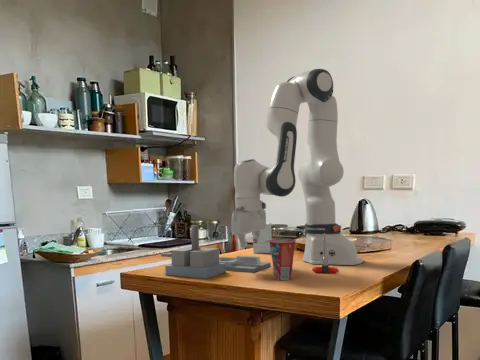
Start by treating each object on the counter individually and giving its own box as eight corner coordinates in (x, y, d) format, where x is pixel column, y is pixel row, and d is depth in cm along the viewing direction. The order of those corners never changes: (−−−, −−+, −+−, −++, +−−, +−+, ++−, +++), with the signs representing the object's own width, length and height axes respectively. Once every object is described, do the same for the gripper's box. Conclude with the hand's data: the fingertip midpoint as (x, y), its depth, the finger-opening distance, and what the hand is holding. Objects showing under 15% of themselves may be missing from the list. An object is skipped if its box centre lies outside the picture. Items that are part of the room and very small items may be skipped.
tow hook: (312, 269, 165) (312, 273, 156) (311, 232, 165) (311, 233, 156) (337, 270, 163) (338, 273, 154) (336, 232, 164) (337, 233, 155)
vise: (225, 272, 160) (224, 224, 161) (206, 278, 150) (205, 227, 150) (172, 267, 171) (171, 223, 171) (151, 273, 160) (150, 226, 160)
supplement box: (272, 251, 210) (271, 222, 210) (269, 253, 202) (269, 223, 203) (256, 250, 211) (255, 222, 212) (252, 253, 204) (252, 223, 204)
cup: (280, 274, 154) (280, 237, 154) (302, 278, 148) (301, 239, 148) (261, 279, 147) (261, 240, 147) (283, 282, 141) (282, 242, 141)
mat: (270, 265, 171) (270, 262, 171) (253, 272, 159) (253, 268, 159) (218, 262, 182) (218, 259, 182) (198, 268, 169) (198, 264, 169)
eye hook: (206, 264, 169) (206, 256, 169) (220, 260, 178) (220, 252, 178) (251, 268, 160) (251, 259, 160) (264, 263, 169) (264, 255, 169)
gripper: (241, 208, 156) (244, 249, 156) (268, 203, 174) (270, 241, 174) (225, 208, 159) (227, 249, 159) (252, 204, 177) (254, 241, 177)
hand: (250, 245), depth 167 cm, fingers open, 8 cm apart
